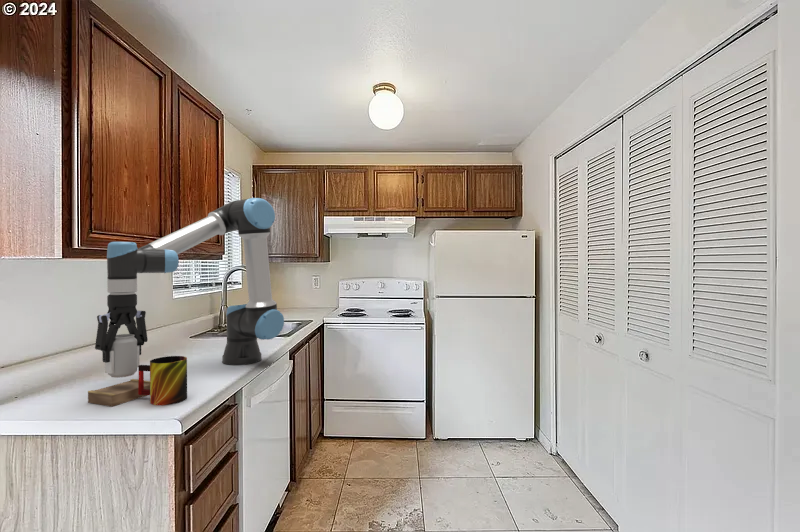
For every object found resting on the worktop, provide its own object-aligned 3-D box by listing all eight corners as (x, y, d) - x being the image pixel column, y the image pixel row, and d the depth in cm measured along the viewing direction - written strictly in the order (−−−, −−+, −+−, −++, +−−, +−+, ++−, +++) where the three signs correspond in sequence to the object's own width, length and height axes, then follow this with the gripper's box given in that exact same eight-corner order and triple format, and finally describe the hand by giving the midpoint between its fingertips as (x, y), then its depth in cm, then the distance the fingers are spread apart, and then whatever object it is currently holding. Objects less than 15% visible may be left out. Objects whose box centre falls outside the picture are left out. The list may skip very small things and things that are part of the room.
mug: (139, 397, 131) (138, 357, 131) (189, 393, 135) (189, 355, 135) (129, 408, 122) (128, 365, 122) (183, 403, 126) (183, 362, 126)
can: (123, 379, 127) (122, 337, 127) (101, 377, 128) (101, 336, 128) (143, 372, 134) (143, 333, 134) (122, 371, 135) (122, 332, 135)
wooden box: (133, 389, 140) (133, 378, 140) (156, 392, 136) (155, 382, 136) (88, 402, 127) (87, 391, 126) (112, 406, 123) (111, 395, 123)
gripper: (144, 290, 142) (144, 361, 142) (78, 295, 123) (78, 376, 123) (161, 291, 139) (161, 363, 139) (96, 296, 120) (97, 379, 120)
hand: (122, 369), depth 131 cm, fingers closed on can, 7 cm apart
